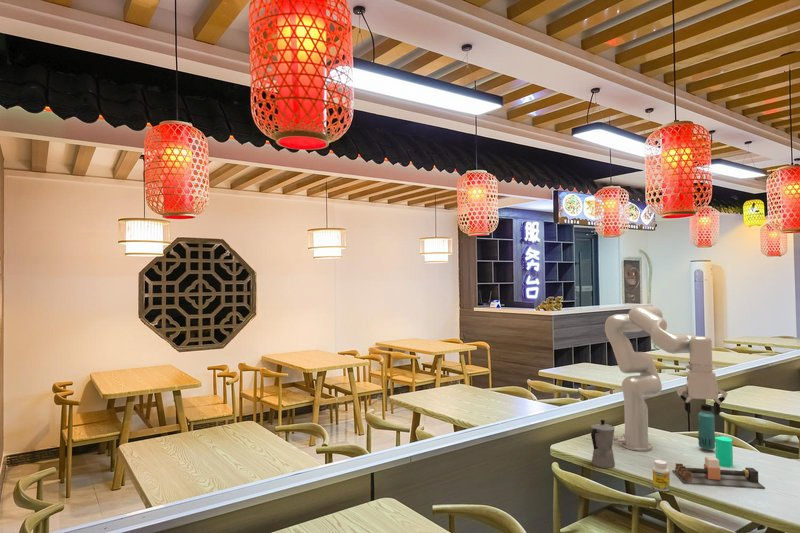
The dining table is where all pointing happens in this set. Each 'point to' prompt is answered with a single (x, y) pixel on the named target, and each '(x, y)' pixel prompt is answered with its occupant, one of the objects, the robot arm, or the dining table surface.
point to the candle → (724, 451)
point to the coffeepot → (602, 445)
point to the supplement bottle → (661, 476)
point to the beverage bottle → (706, 428)
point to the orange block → (712, 468)
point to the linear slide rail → (727, 477)
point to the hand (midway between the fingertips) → (702, 413)
